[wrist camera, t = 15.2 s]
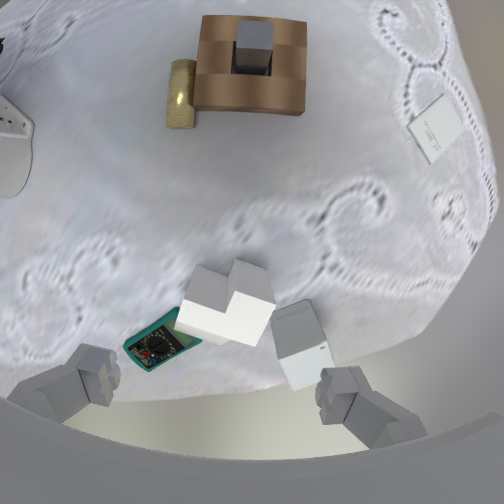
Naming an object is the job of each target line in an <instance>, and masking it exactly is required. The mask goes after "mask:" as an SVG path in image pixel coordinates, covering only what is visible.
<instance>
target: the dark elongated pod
mask: <svg viewBox="0 0 504 504" xmlns="http://www.w3.org/2000/svg"><path fill="white" fill-rule="evenodd" d="M4 38H5V37H4ZM4 38H3V39H0V53H1V52H2V50H3V44H1V43H2V41H3V40H4Z"/></svg>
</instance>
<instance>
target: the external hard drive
mask: <svg viewBox="0 0 504 504" xmlns="http://www.w3.org/2000/svg"><path fill="white" fill-rule="evenodd" d="M406 128H407V129H408V131H409V132H410V134H411V135H412V137H413V139H414V140H415V142H416V143H417V144H418V145H419V147H420V150H421V152H422V154H423V155H424V157H425V159H426V160H427V162H428V164H429V165H432V164H433V163H434V162H435V161H436V160H437V159H438V158H439V157H440V156H441V155H442V154H443V153H444V152H445V151H446V150H447V149H448V148H449V147H450V146H451V145H452V144H453V143H454V142H455V141H456V140H457V139H458V138H459V137H460V136H461V135H462V134H463V133H464V132H465V127H464V125H463V123H462V121H461V120H460V118H459V116H458V114H457V112H456V111H455V109H454V107H453V105H452V104H451V102H450V100H449V99H448V97H447V96H446V94H442V95H441V96H440V97H439V98H437V99H436V100H435V101H434V102H433V103H432V104H431V105H430V106H428V107H427V108H426V109H425V110H424V111H423V112H422V113H420V114H419V115H418V116H417V117H416V118H415V119H414V120H412V121H411V122H410V123H409V124H408V125H407V126H406Z"/></svg>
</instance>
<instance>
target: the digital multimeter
mask: <svg viewBox="0 0 504 504" xmlns="http://www.w3.org/2000/svg"><path fill="white" fill-rule="evenodd" d="M179 311H180V308H178V307H175V308H174V309H173V310H171V311H170V312H169V313H167V314H166V315H165V316H163V317H162V318H161V319H159V320H158V321H156V322H155V323H154V324H152V325H151V326H149V327H148V328H146V329H145V330H143V331H141V332H140V333H138V334H137V335H135V336H133V337H131V338H130V339H128V340H126V341H125V343H124V345H123V348H124V350H125V351H126V353H127V354H128V355H129V357H130V358H131V359H132V360H133V361H134V362H135V363H136V364H137V365H139V366H140V367H141V368H143V369H144V370H146V371H147V372H150V371H152V370H153V369H155V368H156V367H158V366H160V365H161V364H163V363H165V362H166V361H168V360H169V359H171V358H173V357H175V356H177V355H178V354H180V353H182V352H184V351H186V350H188V349H190V348H192V347H194V346H196V345H198V344H199V343H201V342H202V339H199V338H196V337H194V336H191V335H188V334H185V333H182V332H179V331H177V330H174V327H175V323H176V320H177V317H178V314H179ZM161 325H162V326H161ZM158 327H159V328H158ZM138 340H139V341H138Z"/></svg>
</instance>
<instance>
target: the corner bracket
mask: <svg viewBox="0 0 504 504" xmlns="http://www.w3.org/2000/svg"><path fill="white" fill-rule="evenodd" d="M275 307H276V302H275V298H274V294H273V290H272V287H271V283H270V279H269V276H268V272H267V270H266V269H263V268H260V267H258V266H255V265H252V264H250V263H247V262H244V261H242V260H239V259H236V258H235V261H234V263H233V266H232V268H231V270H230V273H229V275H228V277H227V276H225V275H222V274H219V273H216V272H214V271H211V270H208V269H206V268H203V267H200V266H198V265H196V267H195V270H194V273H193V275H192V278H191V280H190V283H189V286H188V288H187V291H186V294H185V296H184V299H183V302H182V305H181V308H180V311H179V314H178V317H177V320H176V323H175V327H174V330H177V331H179V332H182V333H185V334H188V335H191V336H194V337H196V338H199V339H202V340H205V341H208V342H211V343H214V344H218V345H222V344H224V343H226V342H227V341H229V340H235V341H238V342H241V343H244V344H247V345H251V346H254V347H255V346H256V344H257V342H258V340H259V338H260V336H261V334H262V332H263V331H264V329H265V327H266V325H267V323H268V321H269V319H270V317H271V315H272V313H273V311H274V309H275Z"/></svg>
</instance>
